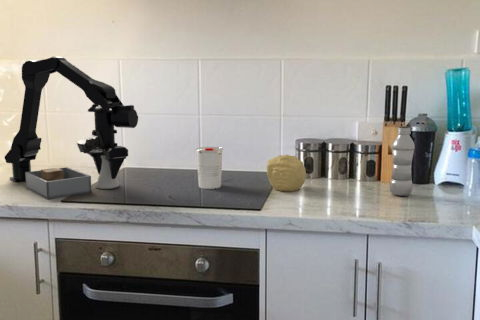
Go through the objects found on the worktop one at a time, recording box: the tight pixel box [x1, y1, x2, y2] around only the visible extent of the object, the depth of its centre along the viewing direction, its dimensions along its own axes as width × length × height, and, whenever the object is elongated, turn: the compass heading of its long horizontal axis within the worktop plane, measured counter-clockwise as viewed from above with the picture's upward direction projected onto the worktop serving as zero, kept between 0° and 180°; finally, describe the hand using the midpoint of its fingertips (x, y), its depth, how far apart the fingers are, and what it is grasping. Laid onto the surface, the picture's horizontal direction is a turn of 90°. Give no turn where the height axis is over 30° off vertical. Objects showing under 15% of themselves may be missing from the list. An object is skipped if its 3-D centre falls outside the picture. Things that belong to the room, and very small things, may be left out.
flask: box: [95, 155, 120, 190], centre depth 165 cm, size 7×7×10 cm
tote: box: [25, 166, 93, 200], centre depth 161 cm, size 18×13×5 cm
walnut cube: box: [40, 167, 63, 181], centre depth 164 cm, size 5×5×5 cm
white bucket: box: [195, 146, 224, 190], centre depth 165 cm, size 10×8×12 cm
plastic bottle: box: [389, 126, 415, 197], centre depth 153 cm, size 6×7×20 cm
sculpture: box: [266, 154, 307, 192], centre depth 162 cm, size 12×12×11 cm
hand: (106, 176), depth 165 cm, fingers open, 9 cm apart
